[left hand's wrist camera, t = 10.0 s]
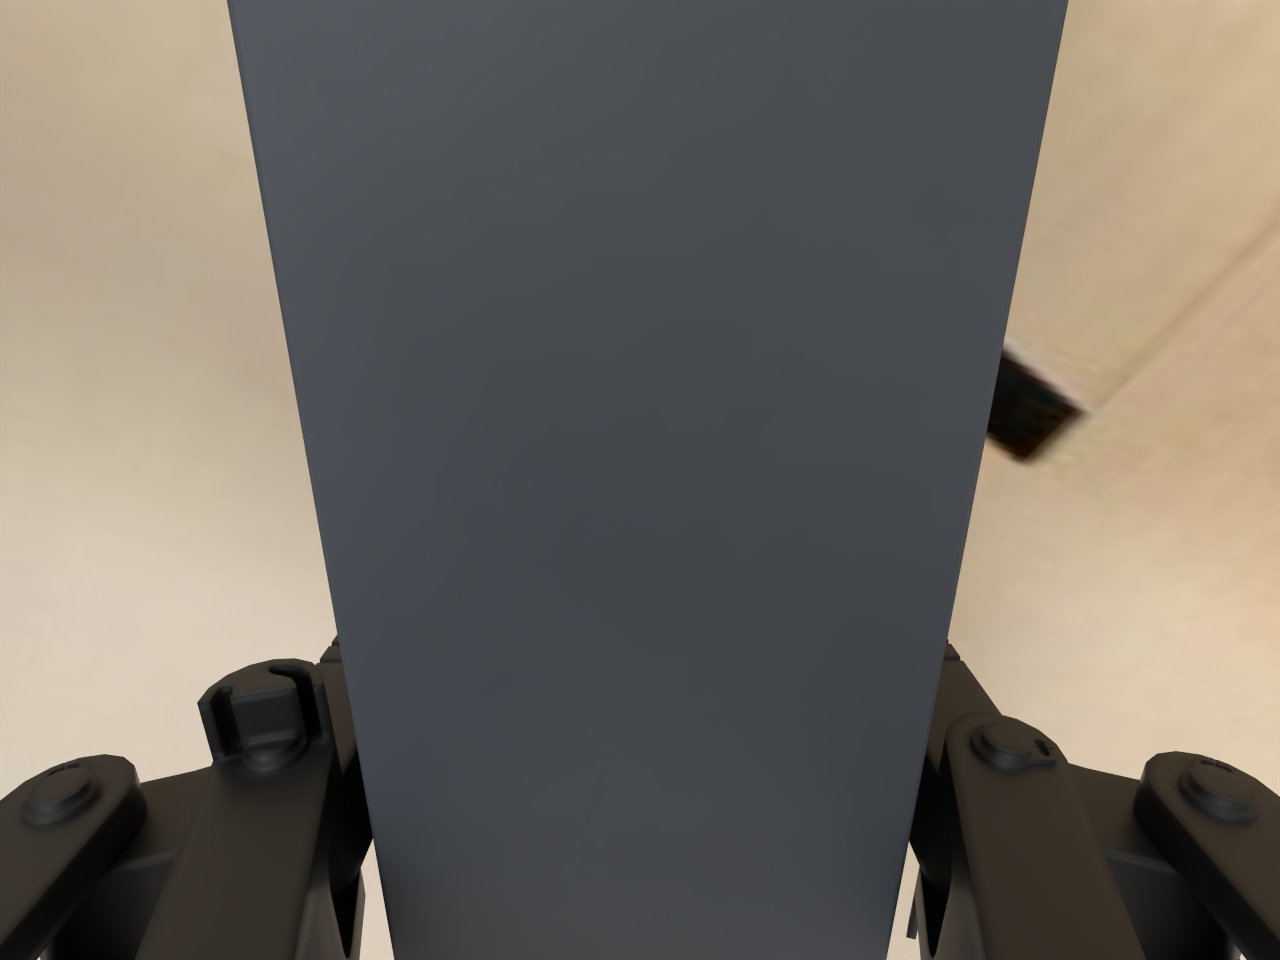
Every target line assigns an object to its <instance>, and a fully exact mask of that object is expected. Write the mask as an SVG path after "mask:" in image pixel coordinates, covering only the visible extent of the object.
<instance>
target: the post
mask: <svg viewBox="0 0 1280 960" xmlns="http://www.w3.org/2000/svg"><path fill="white" fill-rule="evenodd" d="M227 3H228V9H229V15H230V20H231V26H232V32H233V37H234V43H235V49H236V55H237V60H238V66H239V72H240V78H241V83H242V89H243V95H244V100H245V106H246V112H247V118H248V123H249V129H250V135H251V141H252V146H253V152H254V158H255V164H256V169H257V175H258V181H259V186H260V192H261V198H262V204H263V209H264V215H265V221H266V227H267V232H268V238H269V244H270V250H271V255H272V261H273V267H274V272H275V278H276V284H277V290H278V295H279V301H280V307H281V313H282V318H283V324H284V330H285V335H286V341H287V347H288V353H289V358H290V364H291V370H292V376H293V381H294V387H295V393H296V399H297V404H298V410H299V416H300V421H301V427H302V433H303V439H304V444H305V450H306V456H307V462H308V467H309V473H310V479H311V484H312V490H313V496H314V502H315V507H316V513H317V519H318V525H319V530H320V536H321V542H322V548H323V553H324V559H325V565H326V570H327V576H328V582H329V588H330V593H331V599H332V605H333V611H334V616H335V622H336V628H337V634H338V639H339V645H340V651H341V656H342V662H343V668H344V674H345V679H346V685H347V691H348V697H349V702H350V708H351V714H352V719H353V725H354V731H355V737H356V742H357V748H358V754H359V760H360V765H361V771H362V777H363V783H364V788H365V794H366V800H367V805H368V811H369V817H370V823H371V828H372V834H373V840H374V846H375V851H376V857H377V863H378V869H379V874H380V880H381V886H382V891H383V897H384V903H385V909H386V914H387V920H388V926H389V932H390V937H391V943H392V949H393V954H394V960H886V958H887V953H888V948H889V942H890V937H891V932H892V927H893V921H894V916H895V911H896V905H897V900H898V895H899V890H900V884H901V879H902V874H903V869H904V863H905V858H906V853H907V848H908V842H909V837H910V832H911V826H912V821H913V816H914V811H915V805H916V800H917V795H918V790H919V784H920V779H921V774H922V768H923V763H924V758H925V753H926V747H927V742H928V737H929V732H930V726H931V721H932V716H933V711H934V705H935V700H936V695H937V689H938V684H939V679H940V674H941V668H942V663H943V658H944V653H945V647H946V642H947V637H948V631H949V626H950V621H951V616H952V610H953V605H954V600H955V595H956V589H957V584H958V579H959V574H960V568H961V563H962V558H963V552H964V547H965V542H966V537H967V531H968V526H969V521H970V516H971V510H972V505H973V500H974V495H975V489H976V484H977V479H978V473H979V468H980V463H981V458H982V452H983V447H984V442H985V437H986V431H987V426H988V421H989V415H990V410H991V405H992V400H993V394H994V389H995V384H996V379H997V373H998V368H999V363H1000V358H1001V352H1002V347H1003V342H1004V336H1005V331H1006V326H1007V321H1008V315H1009V310H1010V305H1011V300H1012V294H1013V289H1014V284H1015V278H1016V273H1017V268H1018V263H1019V257H1020V252H1021V247H1022V242H1023V236H1024V231H1025V226H1026V221H1027V215H1028V210H1029V205H1030V199H1031V194H1032V189H1033V184H1034V178H1035V173H1036V168H1037V163H1038V157H1039V152H1040V147H1041V141H1042V136H1043V131H1044V126H1045V120H1046V115H1047V110H1048V105H1049V99H1050V94H1051V89H1052V84H1053V78H1054V73H1055V68H1056V62H1057V57H1058V52H1059V47H1060V41H1061V36H1062V31H1063V26H1064V20H1065V15H1066V10H1067V4H1068V0H227Z"/></svg>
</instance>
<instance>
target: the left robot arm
mask: <svg viewBox="0 0 1280 960" xmlns="http://www.w3.org/2000/svg"><path fill="white" fill-rule="evenodd" d="M197 704H198V707H199V711H200V715H201V718H202V722H203V725H204V729H205V732H206V736H207V740H208V743H209V747H210V750H211V754H212V757H213V763H212V765H211V766H210V767H206V768H203V769H199V770H196V771H192V772H188V773H183V774H179V775H174V776H170V777H165V778H161V779H156V780H152V781H148V782H143V783H140V781H139V778H138V775H137V772H136V769H135V766H134V765H133V764H132V763H131V762H129V761H128V760H127V759H126V758H124V757H121V756H114V755H106V754H103V755H96V756H89V757H82V758H78V759H75V760H72V761H68V762H66V763H62V764H60V765H57V766H54V767H52V768H50V769H48V770H46V771H44V772H42V773H40V774H38V775H36V776H35V777H33V778H31V779H29V780H27V781H25V782H24V783H22V784H21V785H20V786H18V787H17V788H16V789H15V790H13V791H12V792H11V793H9V794H8V795H7V796H6V797H4V798H3V799H2V800H1V801H0V960H37V959H38V957H40V959H41V960H359V957H360V947H361V936H362V926H363V915H364V905H365V889H364V882H363V877H362V872H361V865H362V863H363V861H364V858H365V856H366V853H367V851H368V849H369V846H370V844H371V842H372V839H373V834H372V828H371V823H370V817H369V811H368V805H367V800H366V794H365V788H364V783H363V777H362V771H361V765H360V760H359V754H358V748H357V742H356V737H355V731H354V725H353V719H352V714H351V708H350V702H349V697H348V691H347V685H346V679H345V674H344V668H343V662H342V656H341V651H340V645H339V639H338V634H337V636H336V637H335V639H334V640H333V641H332V646H329V647H328V648H327V650H326V651H325V653H324V654H323V655H322V657H321V658H320V663H317V664H316V665H314V664H313V663H312V662H308V661H304V660H299V659H295V658H293V659H273V660H269V661H265V662H260V663H256V664H252V665H249V666H247V667H244V668H242V669H240V670H238V671H235V672H233V673H231V674H228V675H227V676H225V677H224V678H222V679H221V680H219V681H218V682H217V683H215V684H214V685H212V686H211V687H210V688H208V690H207V691H206V692H205V693H204V695H203V696H202V697H201V699H200V700H199V701H198V702H197ZM909 842H910V844H911V846H912V849H913V851H914V853H915V856H916V858H917V860H918V863H919V865H920V867H919V872H918V877H917V882H916V887H915V892H914V897H913V902H912V907H911V912H910V917H909V923H908V929H907V936H906V937H908V938H912V939H916V935H917V930H918V934H919V945H920V955H921V960H1240V959H1239V958H1240V956H1241V953H1242V954H1243V956H1244V957H1245V958H1246V959H1247V960H1280V797H1279V796H1278V795H1277V794H1275V793H1274V792H1273V791H1272V790H1270V789H1269V788H1268V787H1266V786H1265V785H1264V784H1262V783H1261V782H1260V781H1258V780H1257V779H1256V778H1254V777H1252V776H1250V775H1248V774H1246V773H1244V772H1243V771H1241V770H1239V769H1237V768H1235V767H1233V766H1231V765H1229V764H1227V763H1224V762H1221V761H1219V760H1215V759H1213V758H1209V757H1206V756H1203V755H1199V754H1192V753H1185V752H1178V751H1174V752H1167V753H1159V754H1156V755H1155V756H1154V757H1152V758H1151V759H1150V760H1148V761H1147V762H1146V764H1145V767H1144V770H1143V773H1142V776H1141V779H1140V780H1137V779H1132V778H1128V777H1123V776H1119V775H1114V774H1110V773H1105V772H1101V771H1096V770H1092V769H1087V768H1084V767H1080V766H1077V765H1073V764H1070V763H1068V761H1067V759H1066V758H1065V756H1064V755H1063V753H1062V752H1061V750H1060V749H1059V747H1058V746H1057V744H1056V743H1054V742H1053V741H1052V740H1051V739H1049V738H1048V737H1047V736H1046V735H1044V734H1043V733H1042V732H1041V731H1039V730H1038V729H1036V728H1034V727H1032V726H1030V725H1028V724H1026V723H1024V722H1022V721H1020V720H1018V719H1015V718H1011V717H1007V716H1004V715H1001V713H1000V712H999V710H998V709H997V708H996V706H995V705H994V703H993V702H992V701H991V699H990V698H989V696H988V695H987V694H986V692H985V691H984V689H983V688H982V687H981V685H980V684H979V682H978V681H977V680H976V678H975V677H974V675H973V674H972V673H971V671H970V670H969V668H968V667H967V666H966V664H965V663H964V661H960V656H959V654H958V653H957V652H956V650H955V649H954V647H953V646H952V645H951V644H948V639H947V642H946V647H945V653H944V658H943V663H942V668H941V674H940V679H939V684H938V689H937V695H936V700H935V705H934V711H933V716H932V721H931V726H930V732H929V737H928V742H927V747H926V753H925V758H924V763H923V768H922V774H921V779H920V784H919V790H918V795H917V800H916V805H915V811H914V816H913V821H912V826H911V832H910V837H909Z"/></svg>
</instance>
